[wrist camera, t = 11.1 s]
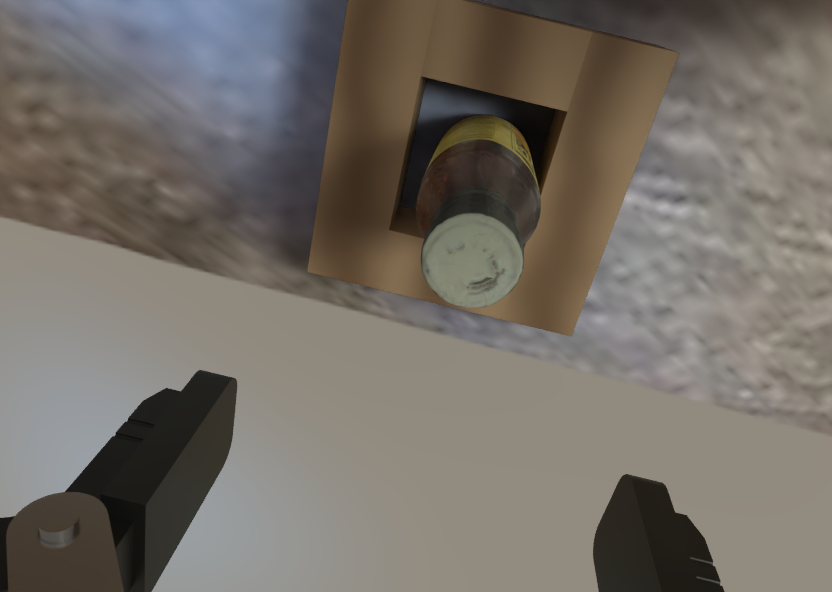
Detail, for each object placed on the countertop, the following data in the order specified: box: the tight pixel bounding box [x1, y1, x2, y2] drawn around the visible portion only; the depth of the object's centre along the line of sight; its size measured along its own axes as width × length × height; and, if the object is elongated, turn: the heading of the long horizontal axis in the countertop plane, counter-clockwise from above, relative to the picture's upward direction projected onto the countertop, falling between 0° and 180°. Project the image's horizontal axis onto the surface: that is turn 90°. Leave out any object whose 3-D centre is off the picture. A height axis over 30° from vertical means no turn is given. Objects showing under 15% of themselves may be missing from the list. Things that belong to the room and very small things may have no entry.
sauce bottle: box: [416, 115, 541, 308], centre depth 33 cm, size 7×6×20 cm
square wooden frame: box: [307, 0, 679, 336], centre depth 40 cm, size 18×18×5 cm
